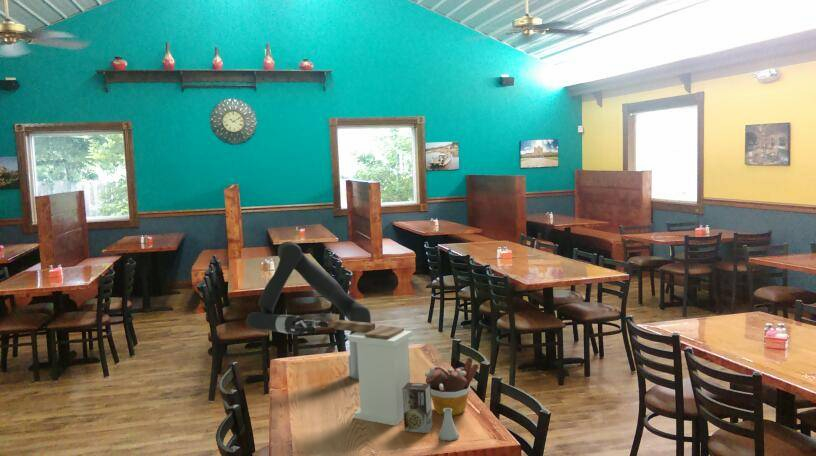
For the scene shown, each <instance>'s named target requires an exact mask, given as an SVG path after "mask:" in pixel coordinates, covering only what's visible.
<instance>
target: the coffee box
mask: <svg viewBox="0 0 816 456" xmlns="http://www.w3.org/2000/svg"><path fill="white" fill-rule="evenodd" d="M402 394H403V410H404V420H403V424H404V425H403V426H404V432H413V433H424V434H428V433H429V432H430V431H431V429H432V428H433V426H434V425H433V410H432V409H433V408H432V398H431V386H430V384H427V383H421V382H410V383H407V384H406V385H405V386H404V387H403V388H402Z"/></svg>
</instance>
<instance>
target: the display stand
mask: <svg viewBox="0 0 816 456" xmlns="http://www.w3.org/2000/svg"><path fill="white" fill-rule="evenodd" d="M375 328H377V327H376V326H375ZM365 333H366V332H355V333H353V334H351V335H349V334H348V335H347V342H349V341H351V342H357V352H358V371H359V379H358V387H359V388H358V390H359V405H360V407H359V409H358V410H357V411H355V412H354V413H353V415H354V419H358V420H363V421H368V422H374V423H379V424H384V425H388V426H389V425H391V426H397V425H398V424H400V423H401V422H402V421H404V410H403V394H402V388H403V387H404V386H405V385H406V384H407V383H411V371H410V347H409V339H410V338H413V330H405V329H404V331H402V332H400V333H398V334H396V335H394V336H393V337H391V338H389V339H385V338H376V337H367V336H365Z"/></svg>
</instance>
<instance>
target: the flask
mask: <svg viewBox="0 0 816 456" xmlns="http://www.w3.org/2000/svg"><path fill="white" fill-rule="evenodd" d="M443 412H444V415H443V421H442V424H441V428H440V431H439V434H438V438H439V439H440V440H441V441H446V440H447V441H449V442H451V441H455V440H458V439H459V437H460V435H459V432H458V430H457V427H456V425H455V423H454V420H453V416H452V409H451V408H445V409H443ZM447 441H446V442H447Z"/></svg>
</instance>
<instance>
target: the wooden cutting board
mask: <svg viewBox="0 0 816 456" xmlns="http://www.w3.org/2000/svg"><path fill="white" fill-rule="evenodd" d="M375 327H376V323H375V322H371V323H366V322H356V321H349V320H346V319H345V320H344V319H336V320H334V321H333V328H334V329H333V330H341V331H346V332H347V331H349V332H351V331H356V332H366V333H365V336H367V337H376V338H385V339H389V338H391V337H393V336H394V335H396V334H398V333H400V332H402V331H404V330H405V327H397V326H391V325H390V326H388V325H380V326H378V327H376V328H375Z"/></svg>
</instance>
